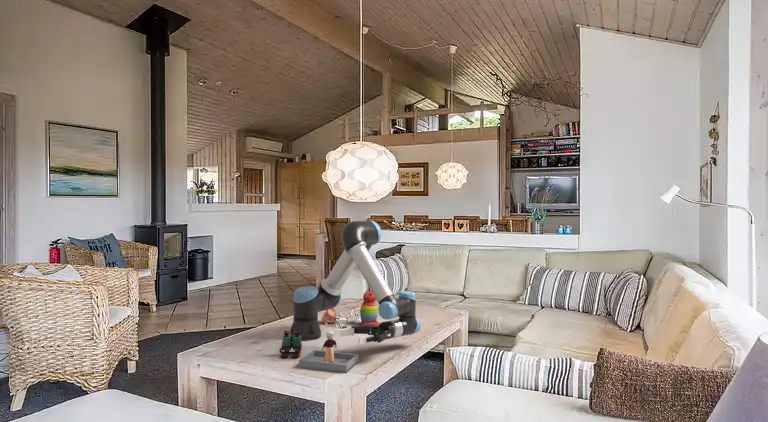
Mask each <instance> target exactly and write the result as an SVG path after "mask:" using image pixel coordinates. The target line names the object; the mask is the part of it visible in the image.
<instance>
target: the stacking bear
mask: <svg viewBox="0 0 768 422" xmlns="http://www.w3.org/2000/svg"><path fill="white" fill-rule="evenodd" d="M362 299H363V302H362V303H361V304H360V305H361V306H360V310H359V317H360V322H361V325H360V326H370V325H373V327H374V326H379V325H380V323H381V322H379V321H377V319H378V318H377V317H378V315H379V310H378V307H377V303H376V301H377V300H376V298H375V296H374V294H373V293H372V291H371V290H370V291H368V290H366V291H365V292H364V293H363V296H362Z"/></svg>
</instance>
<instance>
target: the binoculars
mask: <svg viewBox="0 0 768 422" xmlns="http://www.w3.org/2000/svg"><path fill="white" fill-rule="evenodd" d="M299 333H300V331H296V332H295V335H293V339H292V335H290V330H289V331H288V330H284V331H283V334H284V335H283V336H282V339H281V340H282V341H281V342H282V343H281V347H280V348H279V353H280V358H281V359H283V360H287V359H289V357H290V355H291V358H292V360H293V359H294V360H297V359H299V358H300V357H301V354H302V352H301V351H302V349H303V344H302V343H303V342H302V340H301V336H300V335H299ZM291 350H292V351H291Z"/></svg>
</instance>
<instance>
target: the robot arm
mask: <svg viewBox="0 0 768 422" xmlns="http://www.w3.org/2000/svg"><path fill="white" fill-rule="evenodd" d="M381 229H382V228H381V227H380V225H379V224H378V223H377V222H376V221H374V220H369V219H368V220H367V219H366V220H354V221H350V222H348V223H346V224H345V225H344V227H342V230H341V236H340V239H341V242H342V245H343V248H344V249H343V252H342V254H341V255H340V257H339V258H338V259H337V261H336V263H335V265H334V266H333V267H332V269H331V271H330V272H329V274H328V276H327V277H326V278H323V279H322V280H321V281H320V283H319V285H318V286H315V285H314V286H313V285H307V286H301V287H298V288H296V289H295V290H294V292H293V298H292V300H293V302H292V303H293V321H292V324H291V327H290V330H289V335H292V339H293V335H295V332H296V331H300V333H299V335H300V336H301V341H312V340H314V341H315V340H317V339H320V338H321V337H322V329H321V327H320V324H319V319H318V317H319V316H318V314H319V312H322V311H324V312H325V311H326V310H328V309H332V308H333V309H335V307H337V306H339V304H340V302H341V301H342V293H343V290H342V287H343V285H344V284H345V283H346V281H347V279H348V278H349V276H350V275H351V273H352V272H353V270H354V268H355V267H356V266H357V268H358V270H359V272H360V273H361V275H362V277H363V278H364V280H365V282H366V284H367V286H368V287H369V289H370V291H371V292H372V293H373V294H374V296H375V298H376V300H375V301H376V302H377V303H378V305H379V306H378V307H377V311H378V315H379V316H380V318H382V320H386V321H382V322H379V323H380V325H379V326H374V327H373V325H370V326H361V325H352V326H351V327H350V328H345V329H340V334H339V336H340V337H341V338H343V337H348V336H354V335H355V334H356V335H357V334H358V335H359V334H360V335H363V336H359V337H358V345H364V344H368V343H376V342H377V344H378V343H381V342H383V341H385V340H390V339H397V338H399V337H404V336H411V335H414V334H418V333H419V332H420V330H421V328H422V324H421V320H420V319H419V317H418V316H416V311H417V310H416V308H417V307H416V306H417V304H416V303H417V300H416V299H417V297H416V293H415V292H414V291H411V290H409V291H408V290H402V291H400V292H399V293H398V298H396V296H395V295H394V293H393V292H392V289H391V287H389V285H388V283H387V281H386V280H385V277H384V276H383V274H382V273H381V271H380V269H379V267H378V266H377V264H376V262H375V261H374V258H373V257H372V256H371V254H370V252H369V251H370V249H371V248H372V246H375V245H377V244H378V243H380V241H381V239H382V236H383V235H382V230H381ZM397 317H398V319H395V318H397Z"/></svg>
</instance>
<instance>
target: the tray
mask: <svg viewBox="0 0 768 422" xmlns="http://www.w3.org/2000/svg"><path fill="white" fill-rule="evenodd" d="M325 352H326V350H324V351H321V350H317V349H313V350H311V351H310V352H309V353H307V354H306V355H304V356H303V357H301V358H300V359H299V361H298V368H301V369H309V370H310V369H312V370H317V371H318V370H319V371H326V372H334V373H343V372H344V373H345V374H347V373H348V372H349V371H351V370H352V369H353V368H354V367H355V366H357V364H358V363H359V362H360V360H359V359H360V358H359V357H360V356H359V354H355V353H346V352H338V351H333V352H334V362H333V363H331V362H325ZM344 373H343V374H344Z"/></svg>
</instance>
